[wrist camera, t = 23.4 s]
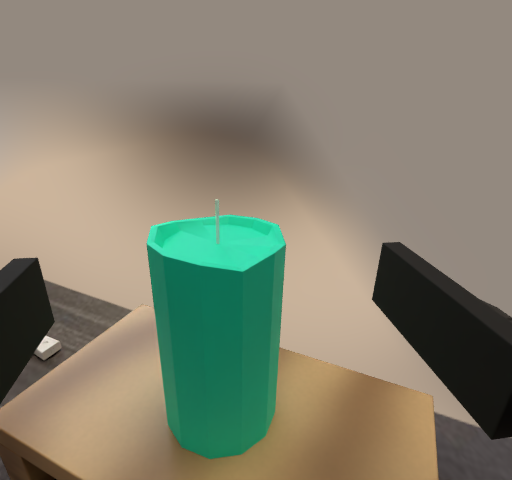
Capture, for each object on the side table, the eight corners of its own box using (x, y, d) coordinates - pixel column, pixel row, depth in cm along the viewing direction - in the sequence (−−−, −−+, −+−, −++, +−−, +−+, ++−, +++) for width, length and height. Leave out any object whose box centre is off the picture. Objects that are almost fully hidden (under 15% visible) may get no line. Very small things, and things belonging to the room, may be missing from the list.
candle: (149, 451, 16) (112, 218, 11) (186, 362, 22) (171, 180, 17) (271, 466, 15) (287, 229, 11) (277, 371, 21) (289, 186, 16)
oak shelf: (415, 451, 21) (433, 395, 19) (416, 763, 11) (454, 710, 9) (148, 350, 30) (142, 303, 28) (9, 479, 19) (-17, 419, 17)
